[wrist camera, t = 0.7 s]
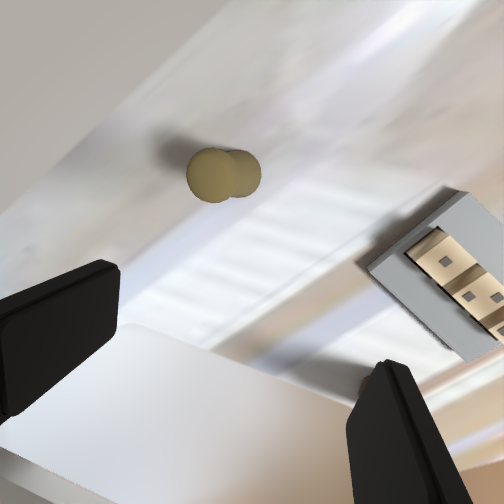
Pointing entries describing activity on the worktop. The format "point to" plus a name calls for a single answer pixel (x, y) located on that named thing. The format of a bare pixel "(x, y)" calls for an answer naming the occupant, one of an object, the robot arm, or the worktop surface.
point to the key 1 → (440, 256)
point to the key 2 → (477, 291)
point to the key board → (424, 286)
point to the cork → (222, 174)
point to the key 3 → (495, 323)
